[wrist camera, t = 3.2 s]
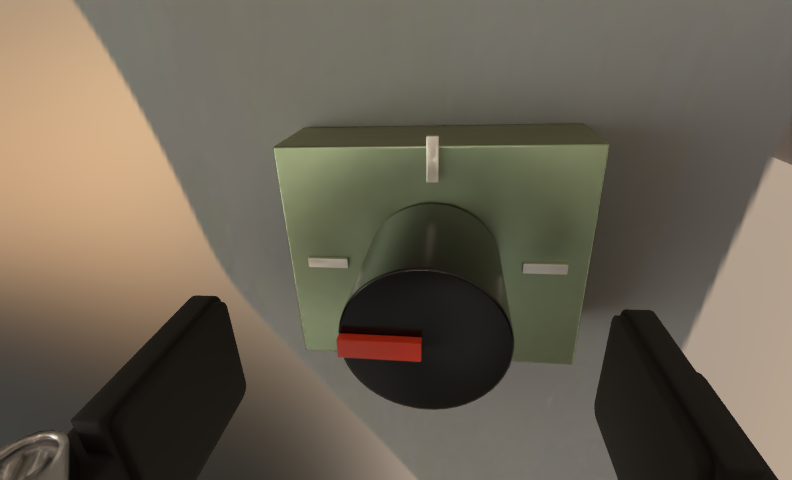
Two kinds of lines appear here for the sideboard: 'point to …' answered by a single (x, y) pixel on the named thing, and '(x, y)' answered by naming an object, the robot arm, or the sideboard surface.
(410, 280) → the knob
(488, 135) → the panel
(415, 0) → the sideboard surface
